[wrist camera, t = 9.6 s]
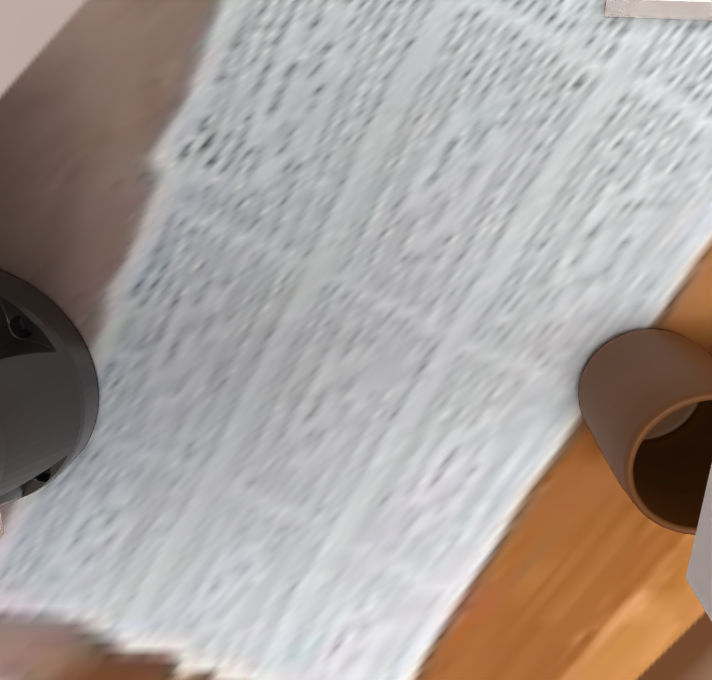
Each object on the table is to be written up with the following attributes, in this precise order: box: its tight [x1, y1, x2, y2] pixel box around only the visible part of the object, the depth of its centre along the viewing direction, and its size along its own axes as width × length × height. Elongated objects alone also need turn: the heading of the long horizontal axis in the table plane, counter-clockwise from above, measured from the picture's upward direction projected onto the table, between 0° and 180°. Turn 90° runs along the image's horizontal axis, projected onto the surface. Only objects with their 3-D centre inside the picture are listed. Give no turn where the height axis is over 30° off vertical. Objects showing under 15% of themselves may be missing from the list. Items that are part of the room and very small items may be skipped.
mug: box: [579, 329, 712, 535], centre depth 34 cm, size 12×8×9 cm, turn 127°
